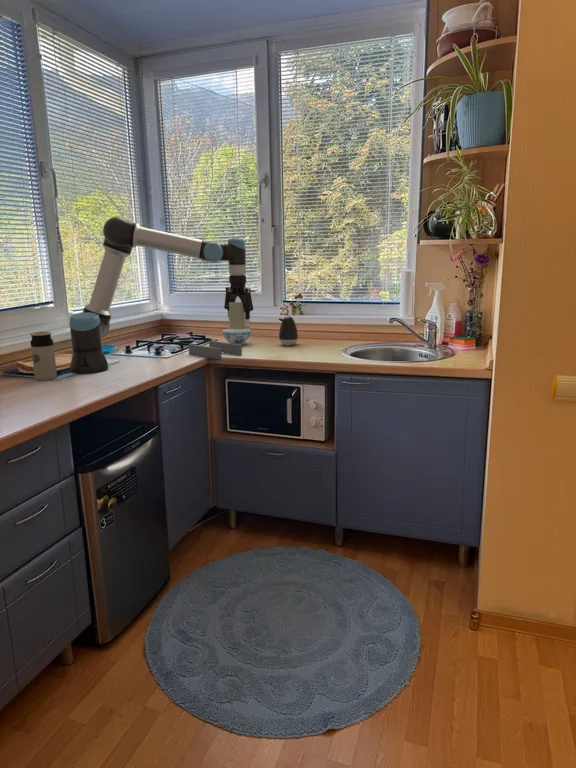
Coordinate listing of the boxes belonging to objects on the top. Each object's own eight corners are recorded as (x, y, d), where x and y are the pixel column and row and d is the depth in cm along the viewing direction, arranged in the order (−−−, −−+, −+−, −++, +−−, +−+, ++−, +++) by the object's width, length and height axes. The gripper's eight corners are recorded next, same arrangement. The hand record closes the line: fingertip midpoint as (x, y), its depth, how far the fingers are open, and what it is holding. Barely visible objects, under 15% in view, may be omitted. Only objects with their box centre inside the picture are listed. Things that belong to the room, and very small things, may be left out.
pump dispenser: (275, 344, 285) (274, 315, 281) (293, 342, 289) (292, 314, 286) (283, 347, 276) (282, 317, 272) (301, 345, 280) (301, 316, 277)
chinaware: (253, 342, 293) (253, 328, 291) (248, 347, 278) (248, 332, 276) (226, 342, 294) (225, 328, 292) (220, 346, 280) (219, 332, 278)
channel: (220, 359, 245) (219, 349, 243) (189, 354, 259) (188, 344, 257) (242, 355, 255) (241, 345, 254) (211, 350, 269) (210, 340, 268)
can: (240, 329, 237) (239, 302, 234) (225, 328, 242) (224, 301, 239) (254, 327, 244) (253, 300, 241) (239, 326, 249) (238, 300, 246)
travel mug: (50, 375, 217) (45, 330, 212) (61, 378, 212) (55, 332, 207) (31, 378, 211) (25, 333, 206) (41, 381, 206) (35, 335, 202)
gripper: (261, 274, 233) (262, 326, 238) (227, 274, 247) (228, 323, 252) (248, 275, 227) (250, 328, 233) (214, 274, 241) (216, 324, 246)
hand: (239, 325), depth 242 cm, fingers closed on can, 9 cm apart
